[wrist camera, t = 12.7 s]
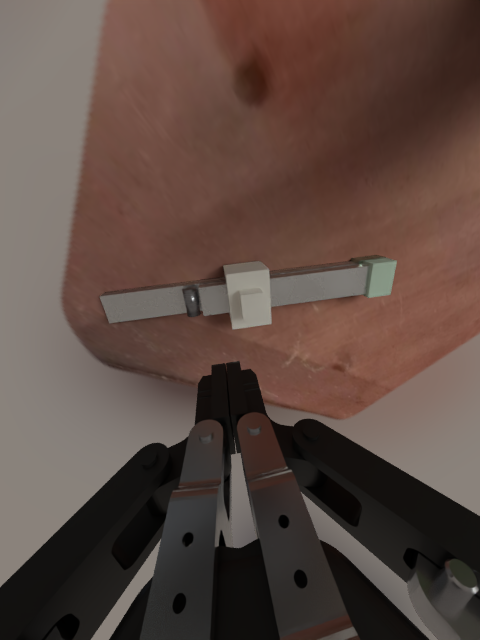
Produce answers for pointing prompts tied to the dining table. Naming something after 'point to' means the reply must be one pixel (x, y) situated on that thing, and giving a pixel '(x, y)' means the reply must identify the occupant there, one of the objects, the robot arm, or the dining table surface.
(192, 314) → the base
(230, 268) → the lock slider
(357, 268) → the bar
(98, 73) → the dining table surface
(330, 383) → the dining table surface
